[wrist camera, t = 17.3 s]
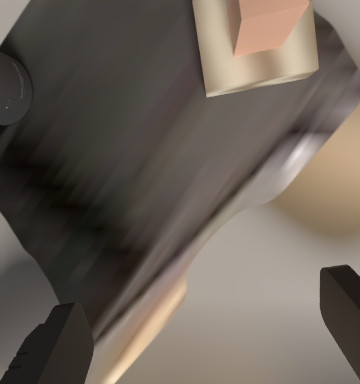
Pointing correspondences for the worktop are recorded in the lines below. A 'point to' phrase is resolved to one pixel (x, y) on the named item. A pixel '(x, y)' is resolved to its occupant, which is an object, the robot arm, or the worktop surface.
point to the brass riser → (255, 62)
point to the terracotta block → (262, 23)
